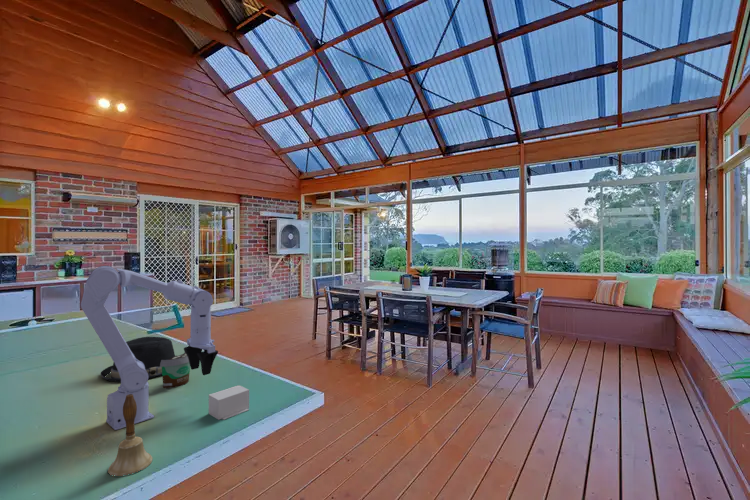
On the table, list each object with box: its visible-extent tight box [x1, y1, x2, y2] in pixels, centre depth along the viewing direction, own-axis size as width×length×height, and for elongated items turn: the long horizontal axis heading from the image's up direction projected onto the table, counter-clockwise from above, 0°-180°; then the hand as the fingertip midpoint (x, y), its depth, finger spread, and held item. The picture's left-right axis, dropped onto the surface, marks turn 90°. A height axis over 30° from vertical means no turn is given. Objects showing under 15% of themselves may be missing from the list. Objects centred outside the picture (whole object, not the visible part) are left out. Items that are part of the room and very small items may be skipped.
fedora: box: [100, 336, 176, 383], centre depth 141 cm, size 25×27×12 cm
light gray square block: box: [221, 408, 250, 421], centre depth 108 cm, size 8×8×1 cm
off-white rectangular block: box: [208, 385, 250, 421], centre depth 108 cm, size 10×6×6 cm, turn 141°
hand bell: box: [107, 394, 153, 477], centre depth 81 cm, size 8×8×16 cm
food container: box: [160, 351, 191, 389], centre depth 128 cm, size 12×6×10 cm, turn 168°
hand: (200, 371), depth 113 cm, fingers open, 7 cm apart
